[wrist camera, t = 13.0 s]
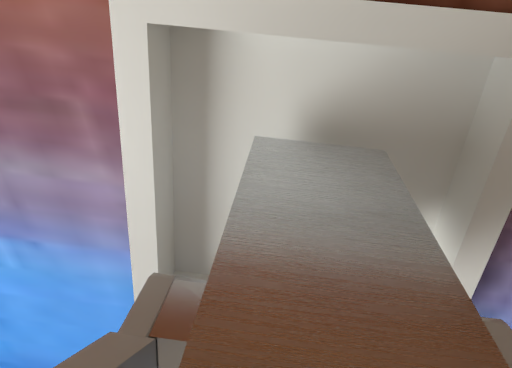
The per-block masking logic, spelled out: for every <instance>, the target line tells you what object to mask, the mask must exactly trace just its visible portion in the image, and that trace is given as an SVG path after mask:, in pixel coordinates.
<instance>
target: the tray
mask: <svg viewBox="0 0 512 368" xmlns="http://www.w3.org/2000/svg"><path fill="white" fill-rule="evenodd" d="M109 9H110V20H111V32H112V44H113V55H114V67H115V79H116V91H117V102H118V114H119V126H120V138H121V149H122V161H123V173H124V184H125V196H126V208H127V220H128V231H129V243H130V255H131V266H132V278H133V290H134V302H135V300H136V299H137V297H138V295H139V293H140V291H141V290H142V288H143V286H144V284H145V282H146V281H147V279H148V277H149V276H150V275H151V274H153V273H154V272H155V273H161V274H167V275H174V276H183V277H189V278H195V279H202V280H208V277H209V274H210V271H211V268H212V265H213V262H214V259H215V256H216V253H217V250H218V247H219V244H220V240H221V237H222V234H223V231H224V228H225V225H226V222H227V219H228V216H229V213H230V210H231V207H232V204H233V201H234V198H235V195H236V192H237V189H238V186H239V183H240V179H241V176H242V173H243V170H244V167H245V164H246V161H247V158H248V155H249V152H250V149H251V146H252V143H253V140H254V137H255V136H261V137H270V138H279V139H288V140H297V141H306V142H315V143H324V144H332V145H341V146H350V147H359V148H368V149H377V150H385V151H386V153H387V155H388V157H389V158H390V160H391V162H392V163H393V165H394V167H395V169H396V170H397V172H398V174H399V176H400V177H401V179H402V181H403V183H404V184H405V186H406V188H407V190H408V191H409V193H410V195H411V197H412V198H413V200H414V202H415V204H416V205H417V207H418V209H419V211H420V212H421V214H422V216H423V217H424V219H425V221H426V223H427V224H428V226H429V228H430V230H431V231H432V233H433V235H434V237H435V238H436V240H437V242H438V244H439V245H440V247H441V249H442V251H443V252H444V254H445V256H446V258H447V259H448V261H449V263H450V265H451V266H452V268H453V270H454V272H455V273H456V275H457V277H458V278H459V280H460V282H461V284H462V285H463V287H464V289H465V291H466V292H467V294H468V296H469V298H470V299H471V298H472V296H473V294H474V291H475V289H476V287H477V285H478V282H479V280H480V278H481V276H482V273H483V271H484V269H485V267H486V264H487V262H488V260H489V258H490V255H491V253H492V251H493V249H494V247H495V244H496V242H497V240H498V238H499V235H500V233H501V231H502V229H503V226H504V224H505V222H506V220H507V217H508V215H509V213H510V211H511V208H512V13H501V12H490V11H479V10H467V9H456V8H445V7H434V6H423V5H412V4H400V3H389V2H378V1H367V0H109Z"/></svg>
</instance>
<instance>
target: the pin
mask: <svg viewBox="0 0 512 368" xmlns="http://www.w3.org/2000/svg"><path fill="white" fill-rule="evenodd" d="M179 368H510V367H509V366H508V364H507V362H506V360H505V359H504V357H503V355H502V353H501V352H500V350H499V348H498V346H497V345H496V343H495V341H494V339H493V338H492V336H491V334H490V332H489V331H488V329H487V327H486V326H485V324H484V322H483V320H482V319H481V317H480V315H479V313H478V312H477V310H476V308H475V306H474V305H473V303H472V301H471V299H470V298H469V296H468V294H467V292H466V291H465V289H464V287H463V285H462V284H461V282H460V280H459V278H458V277H457V275H456V273H455V272H454V270H453V268H452V266H451V265H450V263H449V261H448V259H447V258H446V256H445V254H444V252H443V251H442V249H441V247H440V245H439V244H438V242H437V240H436V238H435V237H434V235H433V233H432V231H431V230H430V228H429V226H428V224H427V223H426V221H425V219H424V217H423V216H422V214H421V212H420V211H419V209H418V207H417V205H416V204H415V202H414V200H413V198H412V197H411V195H410V193H409V191H408V190H407V188H406V186H405V184H404V183H403V181H402V179H401V177H400V176H399V174H398V172H397V170H396V169H395V167H394V165H393V163H392V162H391V160H390V158H389V157H388V155H387V153H386V151H385V150H377V149H368V148H359V147H350V146H341V145H332V144H324V143H315V142H306V141H297V140H288V139H279V138H270V137H261V136H255V137H254V140H253V143H252V146H251V149H250V152H249V155H248V158H247V161H246V164H245V167H244V170H243V173H242V176H241V179H240V183H239V186H238V189H237V192H236V195H235V198H234V201H233V204H232V207H231V210H230V213H229V216H228V219H227V222H226V225H225V228H224V231H223V234H222V237H221V240H220V244H219V247H218V250H217V253H216V256H215V259H214V262H213V265H212V268H211V271H210V274H209V277H208V280H207V283H206V286H205V289H204V292H203V295H202V298H201V302H200V305H199V308H198V311H197V314H196V317H195V320H194V323H193V326H192V329H191V332H190V335H189V338H188V341H187V344H186V347H185V350H184V353H183V356H182V360H181V363H180V366H179Z"/></svg>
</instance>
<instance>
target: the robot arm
mask: <svg viewBox="0 0 512 368" xmlns="http://www.w3.org/2000/svg"><path fill="white" fill-rule="evenodd" d="M206 283H207V280H202V279H195V278H189V277H183V276H174V275H167V274H161V273H155V272H154V273H153V274H151V275H150V276H149V277H148V279H147V281H146V282H145V284H144V286H143V288H142V290H141V291H140V293H139V295H138V297H137V299H136V300H135V302H134V304H133V306H132V308H131V310H130V311H129V313H128V315H127V317H126V319H125V320H124V322H123V324H122V326H121V328H120V329H119V331H118V333H115V332H109V333H107V334H106V335H104V336H103V337H101V338H99V339H98V340H96V341H95V342H93V343H92V344H90V345H88V346H87V347H85V348H84V349H82V350H80V351H79V352H77V353H76V354H74V355H73V356H71V357H69V358H68V359H66V360H65V361H63V362H61V363H60V364H58V365H57V366H55V367H53V368H179V366H180V363H181V360H182V356H183V353H184V350H185V347H186V344H187V341H188V338H189V335H190V332H191V329H192V326H193V323H194V320H195V317H196V314H197V311H198V308H199V305H200V302H201V298H202V295H203V292H204V289H205V286H206ZM481 319H482V320H483V322H484V324H485V326H486V327H487V329H488V331H489V332H490V334H491V336H492V338H493V339H494V341H495V343H496V345H497V346H498V348H499V350H500V352H501V353H502V355H503V357H504V359H505V360H506V362H507V364H508V366H509V367H510V368H512V330H511V329H510V327H509V326H508V324H506V323H505V322H504V321H502V320H501V319H493V318H484V317H481Z"/></svg>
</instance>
